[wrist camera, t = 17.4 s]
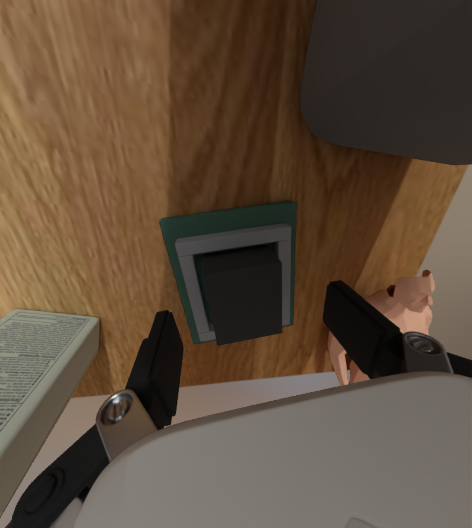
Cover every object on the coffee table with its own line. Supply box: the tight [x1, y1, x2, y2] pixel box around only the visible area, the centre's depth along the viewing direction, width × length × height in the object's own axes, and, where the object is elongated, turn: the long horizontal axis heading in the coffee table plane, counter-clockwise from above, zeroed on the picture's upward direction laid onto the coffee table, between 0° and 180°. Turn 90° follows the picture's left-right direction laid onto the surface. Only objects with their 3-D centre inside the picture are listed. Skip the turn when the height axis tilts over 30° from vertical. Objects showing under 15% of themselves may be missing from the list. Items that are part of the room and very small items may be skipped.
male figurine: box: [328, 270, 435, 386], centre depth 21 cm, size 11×5×25 cm
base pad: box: [159, 201, 297, 344], centre depth 16 cm, size 12×10×2 cm
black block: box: [203, 245, 282, 346], centre depth 15 cm, size 6×5×4 cm
